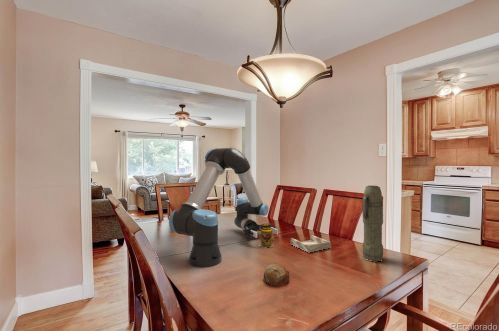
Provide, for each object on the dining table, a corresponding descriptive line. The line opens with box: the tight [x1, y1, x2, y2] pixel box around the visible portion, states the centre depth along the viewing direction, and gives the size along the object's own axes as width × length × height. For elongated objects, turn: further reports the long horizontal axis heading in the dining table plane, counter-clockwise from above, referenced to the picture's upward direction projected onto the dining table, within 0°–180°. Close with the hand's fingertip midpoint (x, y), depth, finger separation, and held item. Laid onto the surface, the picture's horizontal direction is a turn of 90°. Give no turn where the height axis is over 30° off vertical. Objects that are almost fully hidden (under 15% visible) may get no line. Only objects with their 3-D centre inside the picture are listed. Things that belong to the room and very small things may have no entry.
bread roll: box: [263, 263, 290, 286], centre depth 102 cm, size 10×10×8 cm
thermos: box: [361, 185, 384, 261], centre depth 124 cm, size 9×12×35 cm
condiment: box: [257, 223, 273, 248], centre depth 144 cm, size 7×8×12 cm
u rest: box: [290, 234, 331, 254], centre depth 142 cm, size 15×15×4 cm
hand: (267, 233), depth 144 cm, fingers open, 13 cm apart
